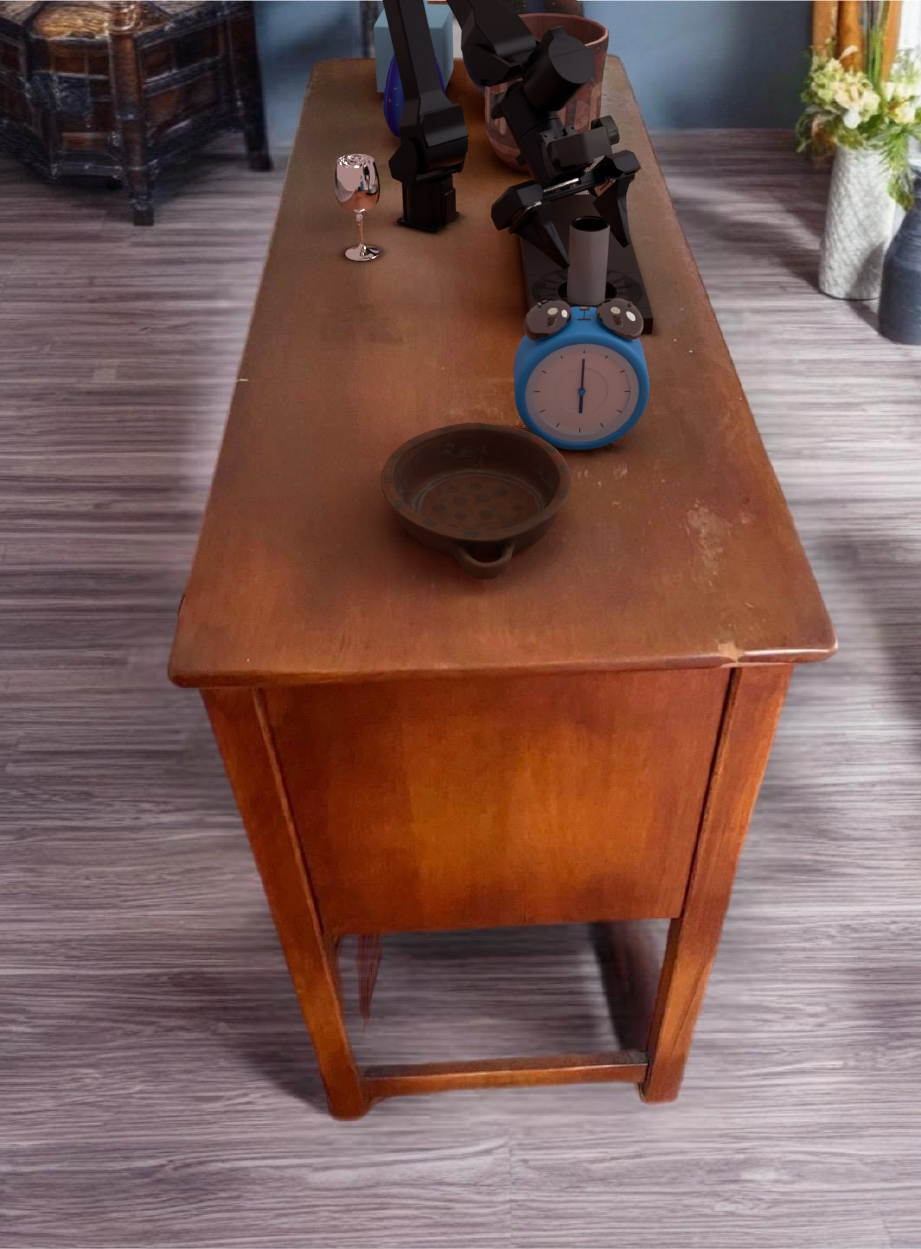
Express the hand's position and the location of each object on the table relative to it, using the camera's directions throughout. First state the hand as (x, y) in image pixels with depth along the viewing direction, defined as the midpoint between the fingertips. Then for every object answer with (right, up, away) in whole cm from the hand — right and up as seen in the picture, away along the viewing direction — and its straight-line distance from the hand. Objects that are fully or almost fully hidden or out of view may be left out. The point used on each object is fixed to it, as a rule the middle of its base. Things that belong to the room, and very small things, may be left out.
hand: (597, 256), depth 138 cm
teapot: (-23, +49, +66) cm, 86 cm away
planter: (-1, -4, +6) cm, 7 cm away
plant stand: (-1, +3, +14) cm, 14 cm away
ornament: (-23, +33, +48) cm, 62 cm away
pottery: (-4, +27, +41) cm, 49 cm away
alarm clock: (-4, -24, -16) cm, 29 cm away
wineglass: (-29, +6, +18) cm, 34 cm away
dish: (-14, -33, -26) cm, 44 cm away
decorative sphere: (-6, +42, +57) cm, 71 cm away
